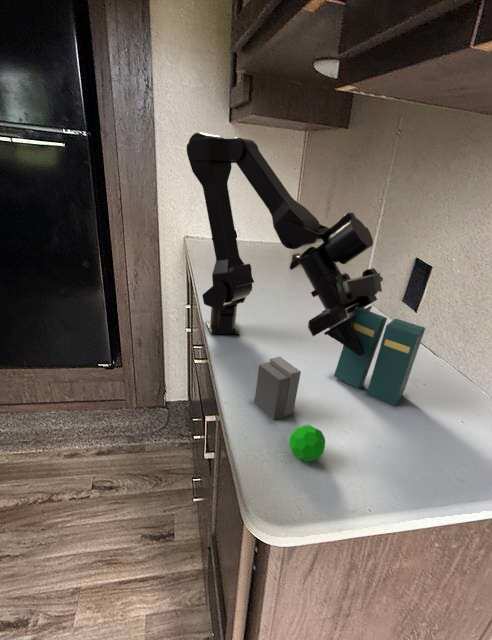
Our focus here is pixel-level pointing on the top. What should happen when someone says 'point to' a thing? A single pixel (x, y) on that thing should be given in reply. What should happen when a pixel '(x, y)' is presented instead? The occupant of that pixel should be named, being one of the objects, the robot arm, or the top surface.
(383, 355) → the teal books
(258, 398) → the grey books
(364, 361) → the teal book
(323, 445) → the polyhedron
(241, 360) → the top surface
